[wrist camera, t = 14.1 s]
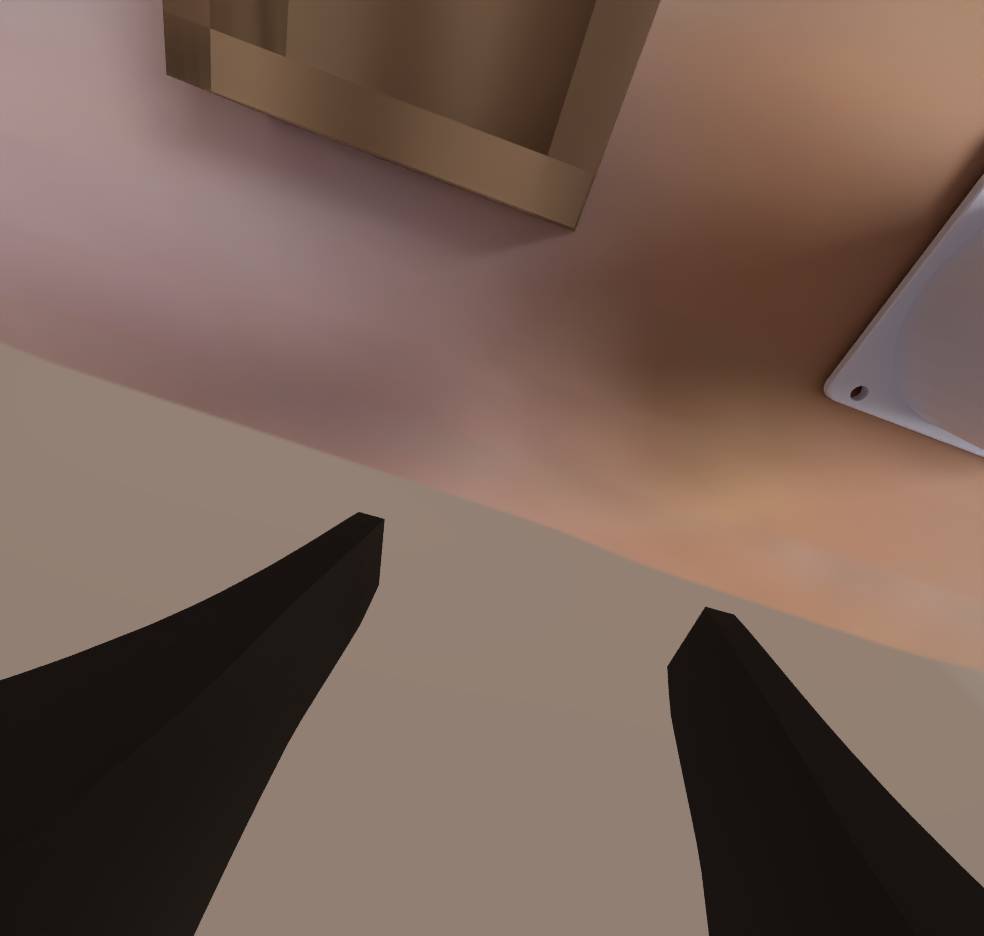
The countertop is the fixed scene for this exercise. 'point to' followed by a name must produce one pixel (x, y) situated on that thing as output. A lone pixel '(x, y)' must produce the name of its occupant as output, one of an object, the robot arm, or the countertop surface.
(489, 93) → the brown tray
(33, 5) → the countertop surface
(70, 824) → the robot arm
